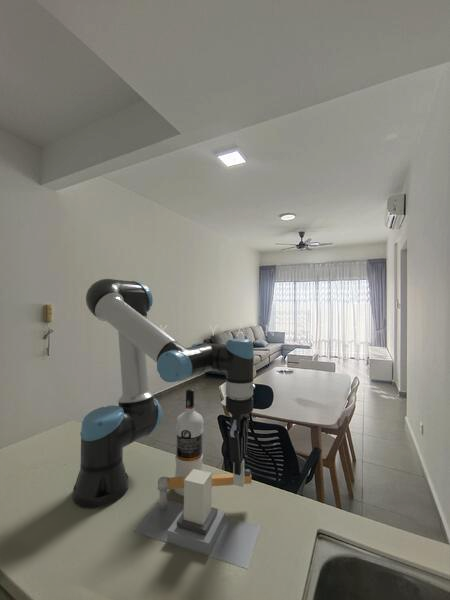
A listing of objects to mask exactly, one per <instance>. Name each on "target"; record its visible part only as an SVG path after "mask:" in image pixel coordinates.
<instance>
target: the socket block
mask: <svg viewBox="0 0 450 600" xmlns="http://www.w3.org/2000/svg"><path fill="white" fill-rule="evenodd" d="M217 509H218V513H217V515H216V517H215V518H214V520H213V522H212V524H211V526H210V528H209V530H208V531H207V533H206V535H204V534H201V533H198V532H195V531H191V530H188V529H185V528H181V527H178V526H177V521H178V519H179V518H180V516H181V515H182V514H183V512H184V503H178V502H175V501H173V500H168V490H166V491H159V501H158V502H157V503H156V504H155V506H154V507H153V508H152V509H151V511H149V512H148V514H147V515H146V516H145V517H144V518H143V519H142V521H141V522H140V523H139V524H138V525H137V526H136V528H135V529H134V530H133V533H137V534H140V535H142V536H146V537H148V538H151V539H154V540H158V541H160V542H163V543H167V544H169V545H173V546H175V547H178V548H182V549H185V550H188V551H191V552H194V553H197V554H200V555H203V556H206V557H208V558H213V559H216V560H218V561H220V562H221V561H222V562H225V563H227V564H230V565H233V566H237V567H240V568H243V569H245V570H248V569H249V567H250V563H251V560H252V556H253V553H254V551H255V547H256V543H257V541H258V537H259V534H260V530H261V527H262V525H260V524H256V523H253V522H250V521H245V520H241V519H238V518H233V517H230V516H227V515H226V511H225V510H223V509H219V508H217Z"/></svg>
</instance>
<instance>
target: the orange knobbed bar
mask: <svg viewBox="0 0 450 600" xmlns="http://www.w3.org/2000/svg"><path fill="white" fill-rule="evenodd" d="M251 472H252V471H251V469H249V468H244V485H246V484H247V485H248V484H249V485H251V484H252V480H253V479H252V473H251ZM185 478H186V477H175V476H174V477H168V476H162V477H159V478H158V479H157V491H159V492H160V491H166V490H167V491H168V490H174V489H180V488H184V480H185ZM232 485H233V473H223V474H222V473H220V474H212V487H218V486H219V487H221V486H232ZM233 486H234V485H233Z"/></svg>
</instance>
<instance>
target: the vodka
mask: <svg viewBox="0 0 450 600" xmlns="http://www.w3.org/2000/svg"><path fill="white" fill-rule="evenodd" d="M203 432H204V419H203V416H202V415H201V414H200V413H198V412H197V411H196V410H195V389H193V388H186V390H185V411H183V412H182V413H181V414H179V415H178V416H177V418H176V421H175V433H176V434H175V435H176V439H175V441H176V443H175V473H174V477H187V476H188V475H189V474H190V472H191V471H192V470H193V469H197V470H201V471H204V469H203V457H204V455H203V446H204V445H203V443H204V442H203V438H204V437H203V435H204V434H203ZM173 491H174V492H175V493H177V494H178V495H179V496H183V497H184V488H180V489H173Z"/></svg>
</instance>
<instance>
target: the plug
mask: <svg viewBox="0 0 450 600" xmlns="http://www.w3.org/2000/svg"><path fill="white" fill-rule="evenodd" d="M212 475H213V474H212V472H210V471H205V470H203V471H201V470H197V469H193V470H192V471H191V472H190V474H189V475H188V476H187V477H186V478H185V480H184V496H183V505H184V512H183V514H182V515H181V516H180V518H179V519H178V521H177V526H178V527H181V528H185V529H188V530H191V531H195V532H198V533H201V534H204V535H206V533H207V531H208V530H209V528H210V526H211V524H212V522H213V520H214V518H215V517H216V515H217V513H218V509H219V508H216V507H213V506H212V487H213V486H212Z"/></svg>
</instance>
